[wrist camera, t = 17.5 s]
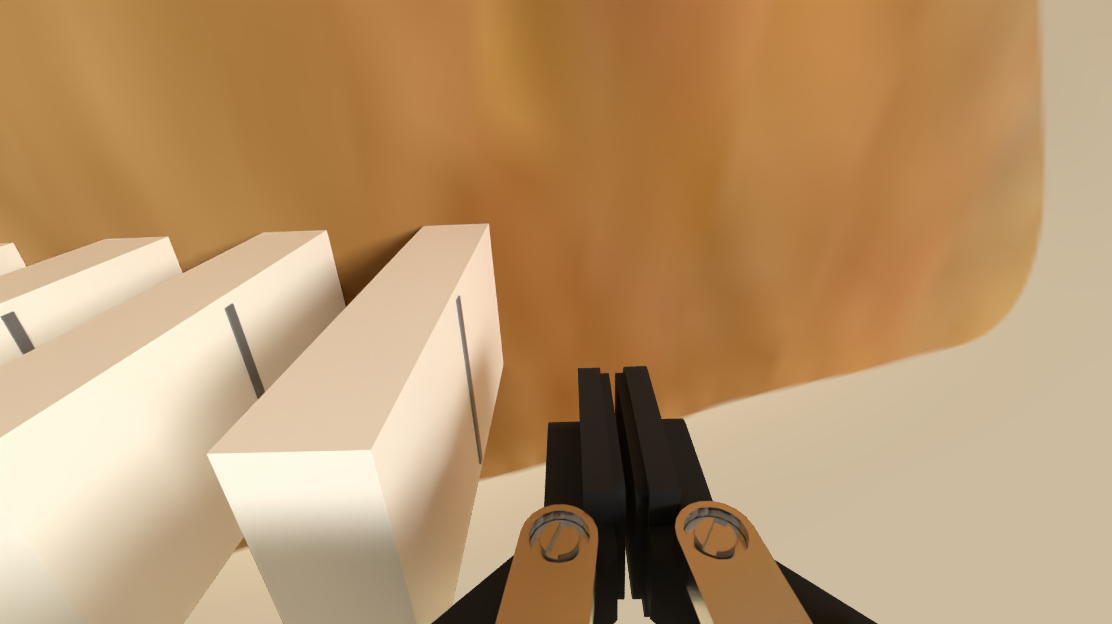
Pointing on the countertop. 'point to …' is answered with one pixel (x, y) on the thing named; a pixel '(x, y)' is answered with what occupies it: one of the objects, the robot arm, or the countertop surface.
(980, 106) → the countertop surface
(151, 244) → the domino
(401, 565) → the domino
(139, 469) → the domino
